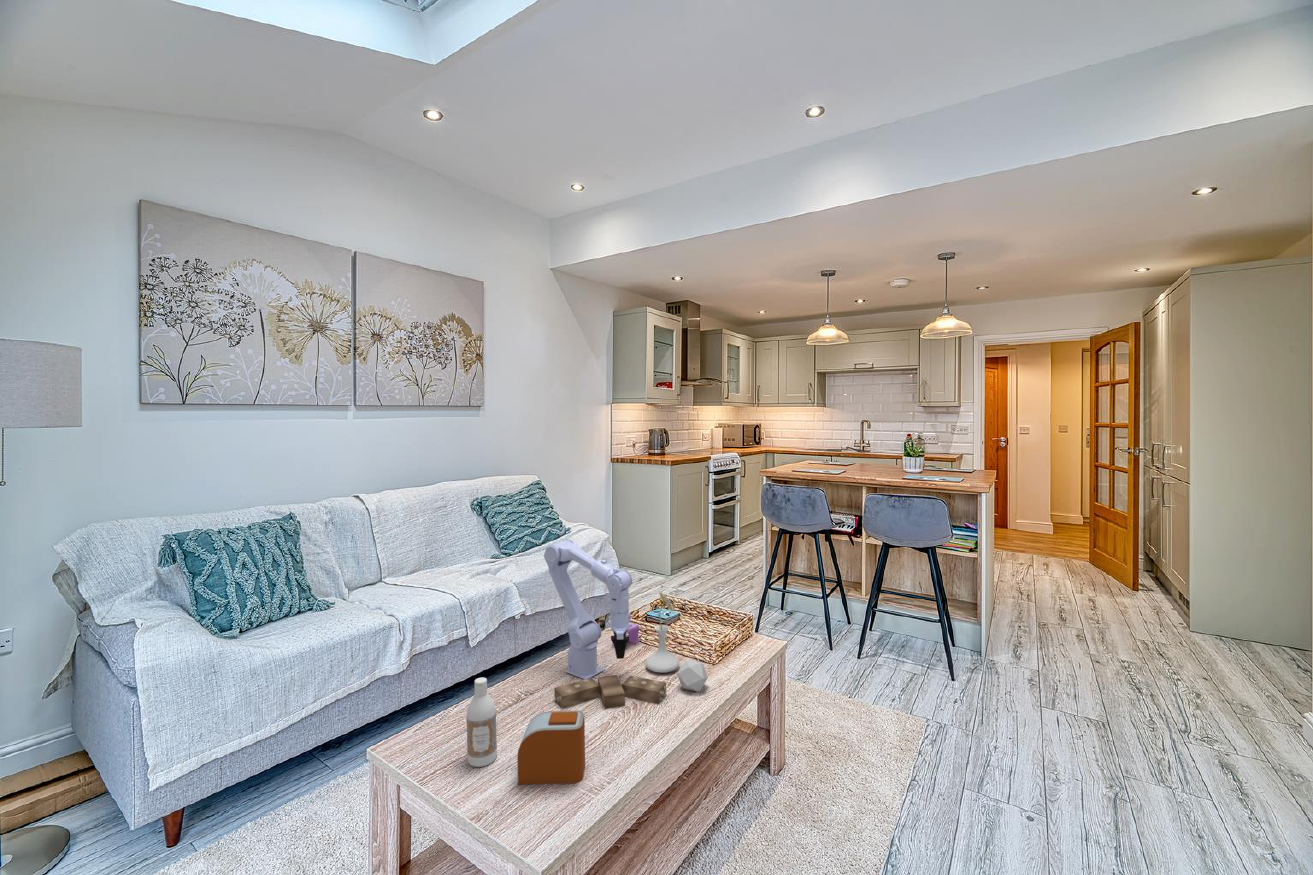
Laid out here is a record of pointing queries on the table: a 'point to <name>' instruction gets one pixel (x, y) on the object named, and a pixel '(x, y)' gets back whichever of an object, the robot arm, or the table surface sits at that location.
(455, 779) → the table surface
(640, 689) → the pip block five
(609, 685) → the plain block
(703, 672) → the die
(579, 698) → the pip block three
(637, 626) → the toy chair
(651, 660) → the flower in vase
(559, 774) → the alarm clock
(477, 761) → the bath foam
